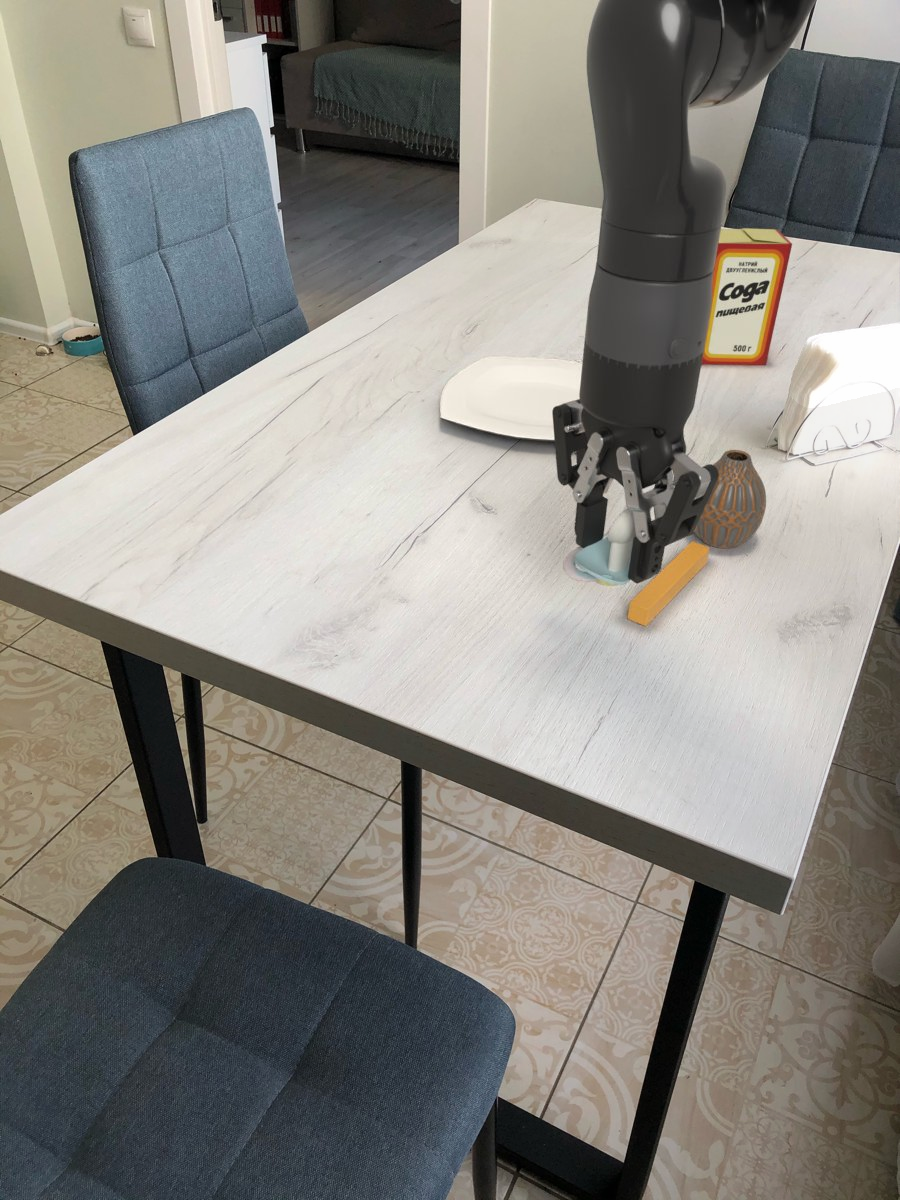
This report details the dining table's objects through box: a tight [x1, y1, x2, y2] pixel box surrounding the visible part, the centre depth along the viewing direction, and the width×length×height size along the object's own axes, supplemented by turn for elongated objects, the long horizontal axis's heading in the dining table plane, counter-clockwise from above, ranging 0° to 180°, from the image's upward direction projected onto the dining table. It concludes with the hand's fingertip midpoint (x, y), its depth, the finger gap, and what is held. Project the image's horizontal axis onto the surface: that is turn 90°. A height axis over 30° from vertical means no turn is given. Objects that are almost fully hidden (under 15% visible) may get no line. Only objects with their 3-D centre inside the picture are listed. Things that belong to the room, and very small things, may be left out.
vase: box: [693, 449, 767, 549], centre depth 87 cm, size 7×7×9 cm
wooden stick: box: [627, 541, 711, 627], centre depth 82 cm, size 12×2×2 cm, turn 143°
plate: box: [439, 356, 583, 442], centre depth 112 cm, size 23×23×2 cm
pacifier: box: [562, 507, 636, 587], centre depth 69 cm, size 7×6×6 cm
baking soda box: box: [701, 227, 793, 366], centre depth 123 cm, size 10×6×16 cm
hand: (614, 559), depth 69 cm, fingers closed on pacifier, 5 cm apart
